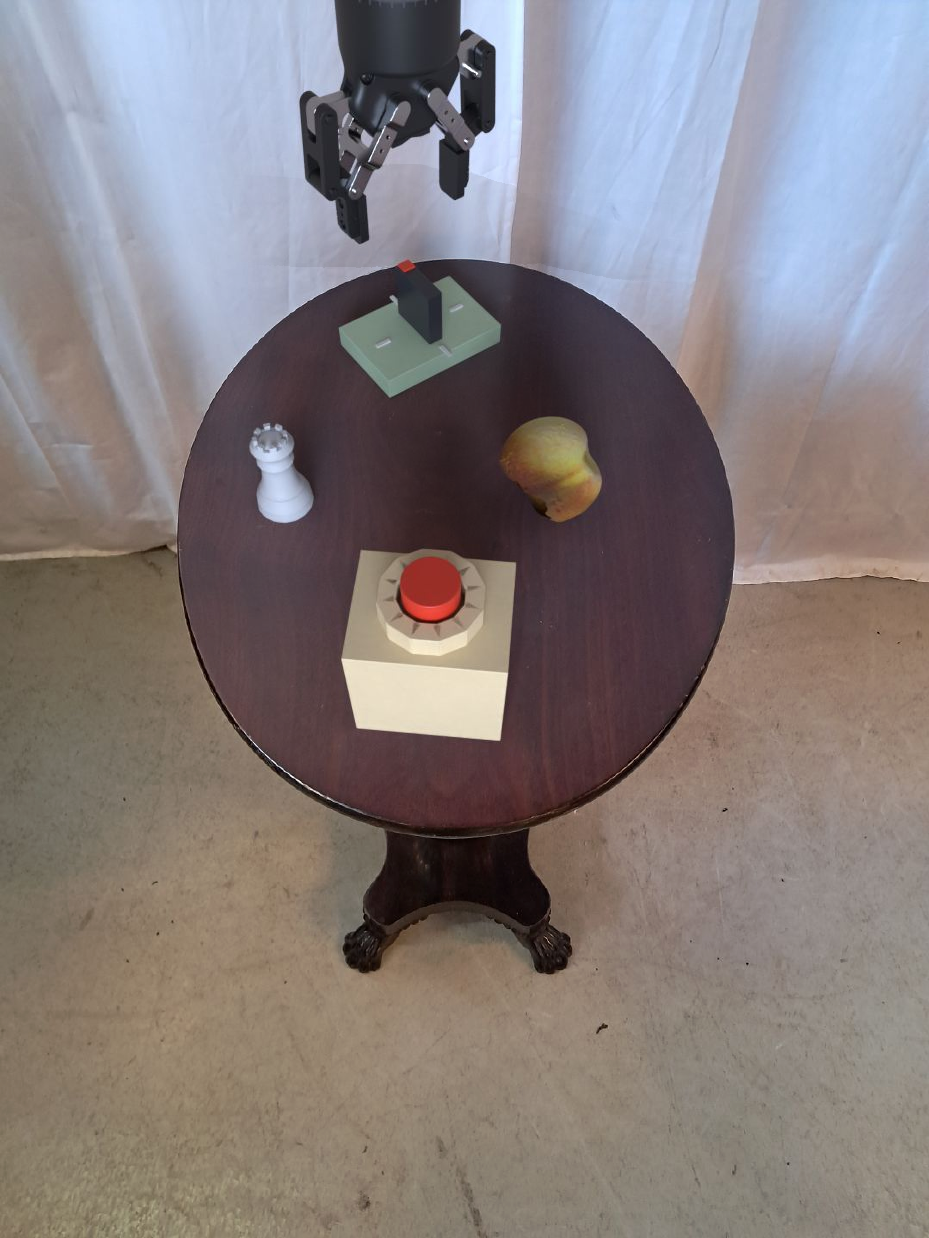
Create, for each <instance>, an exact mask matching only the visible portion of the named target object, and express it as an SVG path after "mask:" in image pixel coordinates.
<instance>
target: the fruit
mask: <svg viewBox="0 0 929 1238" xmlns="http://www.w3.org/2000/svg"><path fill="white" fill-rule="evenodd" d="M588 441H589V439H588V436H587V432H586V430H585V429H584V428H583V427H582V426H581V425H580V424H578V423H577V422H575V421H573V420H572V419H569V418H565V417H561V416H543V417H538V418H537V417H536V418H534V419H532V420H529V421H527V422H525V423H523V424H521V425H520V426H519V427H518V428H516V429H515V430H514V431H513V432H512V433H511V434H510V435H509V437H508V438H507V440H506V441H505V443H504V445H503V448H502V449H501V450H500V455H499V460H498V461H499V466H500V468H501V470H502V471H503V473H504V475H505V476H506V477H507V478H508V479H509V480H511V481H512V482H513V483H514V485H516V486H517V488H518V489H519V490H520V491H521V492H522V493H524V494H525V495H527V497H529V498H530V501H531V506H532V507H533V509H534V510H535V511H536V513H537V514H539V515H540V516H542V517H546V518H547V519H549V520H550V521H553V522H555V523H560V522H562V523H563V522H565V521H567V520H571V519H573V518H576V517H577V516H578V515H582V513H584V512H585V511H586V510H587V509H589V507H591V505H592V504H593V503H594V502H595V500H597V498H598V495H599V494H600V491H601V490H602V489H601V488H602V484H603V477H602V474H601V471H600V468H599V466H598V464H597V463H596V461H595V460H594V459H593V457H592V455H591V453H590V449H589V443H588Z"/></svg>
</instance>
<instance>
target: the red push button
mask: <svg viewBox="0 0 929 1238" xmlns="http://www.w3.org/2000/svg"><path fill="white" fill-rule="evenodd" d="M400 589H401V600H402V604H403V607H404V608H405V610H406V611H407V612H408V613H409V614H410V615H411V616H412V617H414V618H416V619H418V620H421V621H425V622H437V621H441V620H444V619H446V618H448V617H449V616H451V615H452V614H453V613H454V612H455V611H456V609H457V608H458V606H459V604H460V600H461V577H460V574H459V572H458V570H457V569H456V568H455V566H454V565H453V564H451V563H450V562H449V561H447V560H445V559H442V558H439V557H423V558H420V559H417V560H415V561H413V562H412V563H410V564H409V565H408V566H407V567H406V568H405V569H404V571H403V573H402V575H401V578H400Z"/></svg>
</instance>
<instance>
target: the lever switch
mask: <svg viewBox="0 0 929 1238" xmlns="http://www.w3.org/2000/svg"><path fill="white" fill-rule="evenodd" d="M432 283H433V284H434V285H435V286H436V287H437V288H438V289H439V290H440V291H441V292H442V339H440V340H438V341H436V342H434V343H432V344H428V343H427V342H426V341H425V340H424V338H423V337H422V336H421V335H420V334H419V333H418V332H417V331H416V330H415V329H414V328H413V327H412V326H411V325H410V324H409V323H408V322H407V321H406V320H405V319H404V318H403V317H402V316H401V315H400V314H399V313H398V301H397V297H396V296H395V295H393V294H392V295H390V296H389V299H390V300H391V301H392V302H391V303H388V304H386V305H384V306H381V307H379V308H378V309H375V310H374V311H371V312H369V313H367V314H364V315H363V316H361V317H358V318H357V319H354V320H352V321H350V322H347V323H345V324H344V325H341V326H339V327H338V331H339V338H340V345H341V346H342V347H343V348H344V350H345V351H346V352H347V353H348V354H349V355H350V356H351V357H352V358H353V360H354V361H356V363H357V364H358V365H359V366H360V367H361V368H362V369H363V370H364V371H365V373H366V374H367V375H368V376H369V377H370V378H371V379H372V380H373V381H374V382H375V383H376V385H377V386H378V387H379V388H380V389H381V390H382V391H383V393H385V395H386V396H388V398H392V397H395V396H396V395H398V394H401V393H402V392H404V391H406V390H408V389H410V388H413V387H414V386H416V385H418V384H420V383H422V382H424V381H426V380H427V379H430V378H432V377H434V376H437V374H440V373H442V372H443V371H446V370H448V369H450V368H452V367H454V366H456V365H458V364H459V363H461V362H463V361H465V360H467V359H469V358H471V357H473V356H475V355H477V354H479V353H481V352H483V351H485V350H487V349H489V348H491V347H493V346H494V345H497V344H499V343H500V342H501V333H502V331H501V329H502V324H501V323H500V322H499V321H498V320H496V319H495V317H493V315H492V314H490V313H489V311H487V310H486V309H485V308H484V307H483V306H482V305H481V304H480V303H479V302H477V300H475V298H474V297H472V296H471V295H470V294H469V293H468V292H467V291H466V290H465V289H464V288H463V287H462V286H460V284H458V283H457V281H455V280H454V279H453V277H451V275H448V276H446V277H443V278H441V279H440V280H437V281H435V282H432Z"/></svg>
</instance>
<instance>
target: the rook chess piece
mask: <svg viewBox="0 0 929 1238" xmlns="http://www.w3.org/2000/svg"><path fill="white" fill-rule="evenodd" d="M262 426H263V428H262V429H260V428H259V427H256V428H255V430H254V431H253V436H251V439H250V442H249V445H248V448H249V452H250V454H251V455H252V456H253V457H254V458H255V461H256V465H257V467H259V469H260V471H261V479H260V482H259V483H258V486H257V489H256V495H255V496H256V500H257V507H258V511H259V512H260V513H261V515H262V516H263V517H265V518H266V519H268V520H270V521H272V522H275V523H281V524H282V523H283V524H288V523H293V522H297V521H298V520H300V519H302V518H303V517H305V516H306V515H307V514H308V513H309V512H310V510H311V509H312V508H313V504H314V500H315V499H314V498H315V497H314V494H313V493H314V492H313V490H312V488H311V485H310V484H311V483H310V482H309V481H308V480H307V479H306V478H305V476H304V475H303V474H302V473H300V472H299V471H298V470H297V468H296V467H295V464H294V461H295V456H294V455H295V454H294V452H293V450H294V447H295V441H294V437H293V436H292V435H291V434H290V433H289V432H288V431H287V429H283V426H282V425H281V424H279V423H275V425H274V427H273V426H271V423H270V422H268V423H263V424H262Z"/></svg>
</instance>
